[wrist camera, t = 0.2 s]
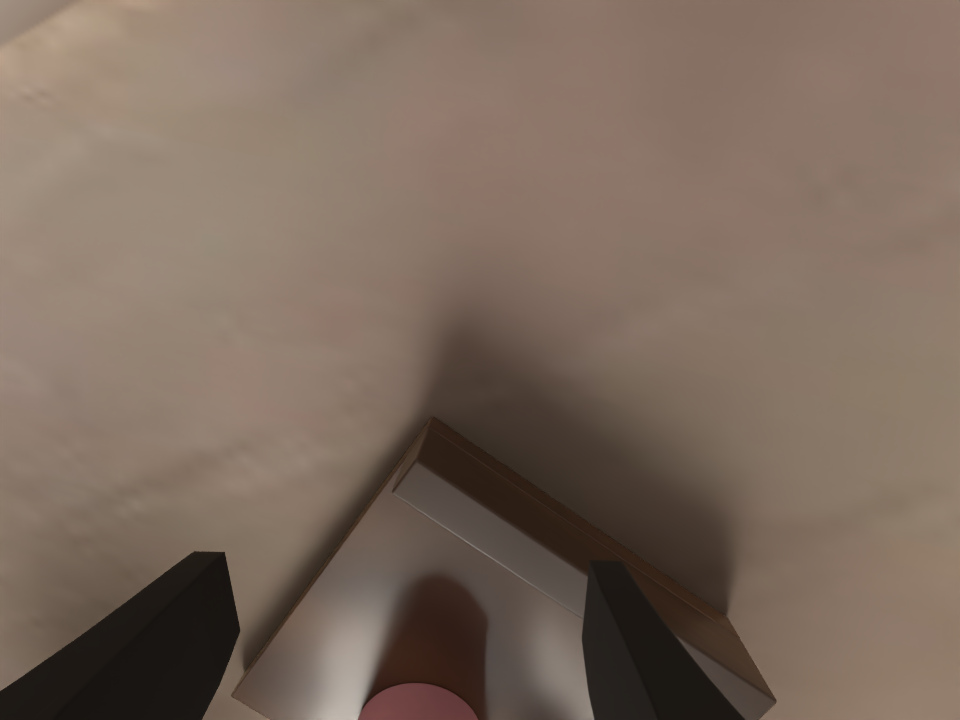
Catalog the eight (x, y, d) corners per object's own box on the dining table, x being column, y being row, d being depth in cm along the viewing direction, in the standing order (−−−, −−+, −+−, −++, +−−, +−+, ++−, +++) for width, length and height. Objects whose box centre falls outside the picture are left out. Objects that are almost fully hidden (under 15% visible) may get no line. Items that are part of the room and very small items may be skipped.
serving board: (515, 837, 26) (517, 952, 21) (243, 674, 24) (190, 763, 20) (728, 617, 23) (779, 702, 18) (432, 415, 21) (415, 458, 17)
